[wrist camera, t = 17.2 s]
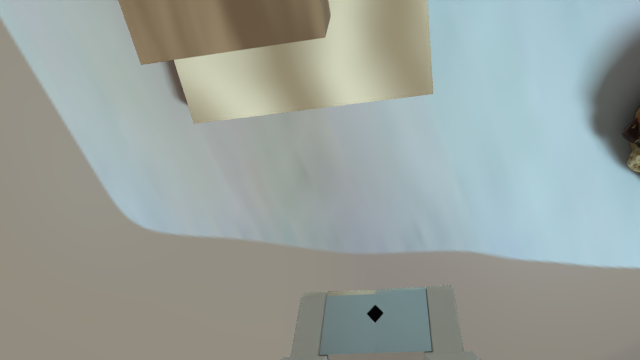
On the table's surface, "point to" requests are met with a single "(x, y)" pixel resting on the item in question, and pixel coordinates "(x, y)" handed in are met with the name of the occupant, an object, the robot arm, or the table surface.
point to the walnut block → (219, 25)
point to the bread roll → (634, 142)
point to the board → (318, 65)
